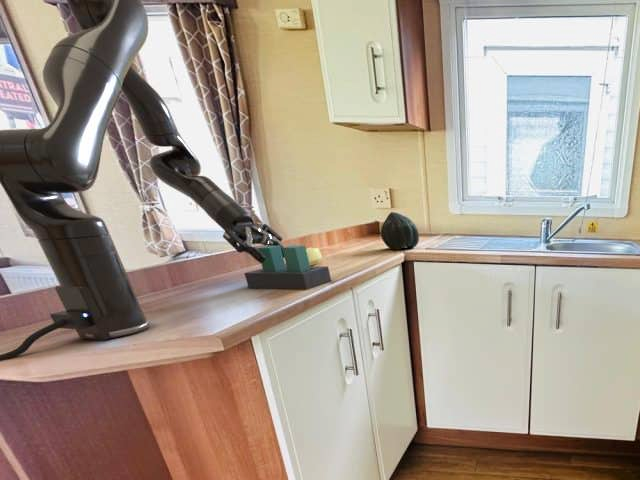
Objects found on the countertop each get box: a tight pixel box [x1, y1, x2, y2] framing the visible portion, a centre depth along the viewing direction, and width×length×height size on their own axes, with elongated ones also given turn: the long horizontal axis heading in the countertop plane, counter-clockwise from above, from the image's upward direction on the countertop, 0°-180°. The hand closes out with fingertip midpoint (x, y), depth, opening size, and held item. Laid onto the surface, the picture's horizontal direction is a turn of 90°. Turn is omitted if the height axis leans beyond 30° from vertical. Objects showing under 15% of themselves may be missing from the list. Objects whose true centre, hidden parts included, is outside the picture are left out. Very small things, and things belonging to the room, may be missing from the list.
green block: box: [256, 245, 286, 272], centre depth 115 cm, size 4×4×10 cm
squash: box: [380, 211, 420, 250], centre depth 174 cm, size 14×15×15 cm
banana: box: [285, 247, 323, 266], centre depth 144 cm, size 14×6×20 cm
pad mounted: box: [282, 245, 310, 272], centre depth 113 cm, size 4×4×10 cm
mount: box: [243, 265, 332, 290], centre depth 115 cm, size 10×18×4 cm, turn 76°
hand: (275, 257), depth 113 cm, fingers open, 8 cm apart
